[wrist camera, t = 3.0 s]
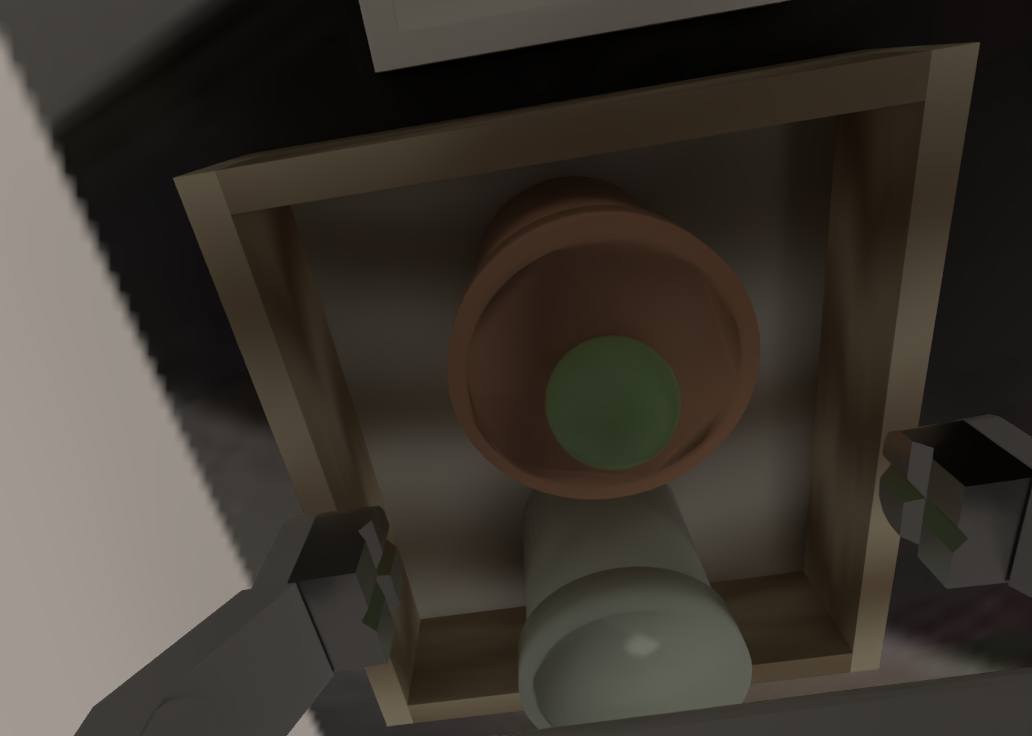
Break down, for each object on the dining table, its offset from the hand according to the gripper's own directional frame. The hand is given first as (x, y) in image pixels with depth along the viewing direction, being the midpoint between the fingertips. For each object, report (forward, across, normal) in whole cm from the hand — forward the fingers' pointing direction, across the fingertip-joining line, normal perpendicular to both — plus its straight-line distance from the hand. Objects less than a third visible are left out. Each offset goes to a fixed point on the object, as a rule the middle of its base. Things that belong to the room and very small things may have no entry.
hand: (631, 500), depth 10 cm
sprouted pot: (+10, 0, -1) cm, 11 cm away
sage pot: (+11, 0, +9) cm, 14 cm away
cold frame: (+11, 0, +4) cm, 12 cm away
